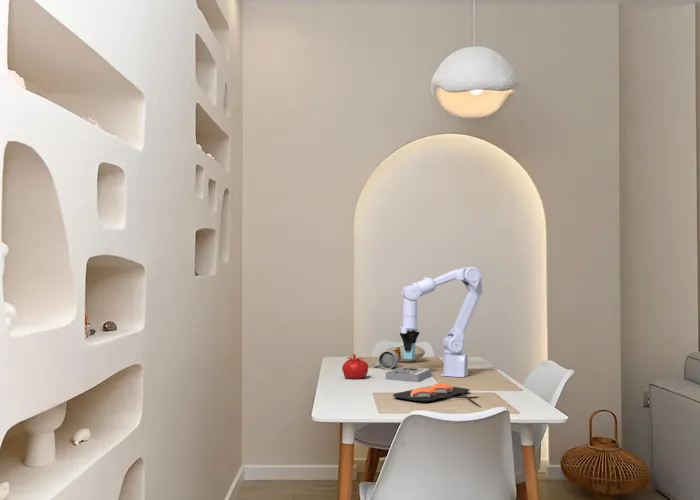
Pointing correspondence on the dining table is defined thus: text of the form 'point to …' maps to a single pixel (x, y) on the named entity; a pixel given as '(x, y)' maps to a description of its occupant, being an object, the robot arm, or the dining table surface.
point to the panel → (408, 374)
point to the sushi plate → (434, 393)
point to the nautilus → (418, 354)
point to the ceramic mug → (387, 360)
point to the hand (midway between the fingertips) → (409, 350)
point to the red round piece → (355, 368)
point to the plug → (409, 352)
